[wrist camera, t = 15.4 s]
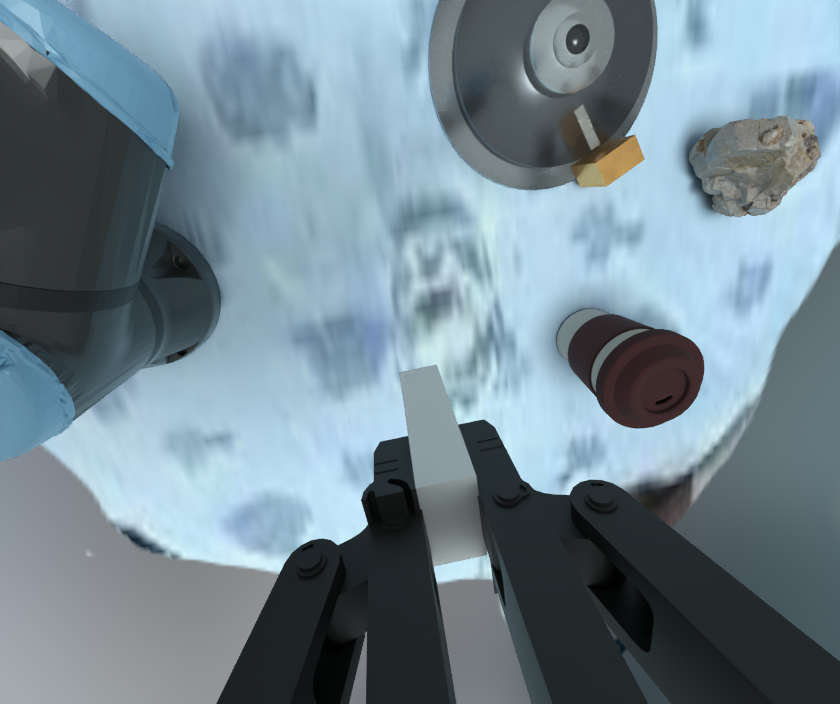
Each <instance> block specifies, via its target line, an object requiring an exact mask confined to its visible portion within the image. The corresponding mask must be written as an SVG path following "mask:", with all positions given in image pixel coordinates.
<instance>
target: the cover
mask: <svg viewBox="0 0 840 704" xmlns="http://www.w3.org/2000/svg"><path fill="white" fill-rule="evenodd" d="M614 34H615V31H614V23H613V18H612V15H611V12H610V10H609V8H608V6H607V4H606V3H605V1H604V0H552V1H551V2H550V3H549V4H548V5H547V6H546V7H545V8H544V9H543V10H542V11H541V12H540V14H539V15H538V16H537V17H536V18H535V19H534V21H533V22H532V24H531V26H530V28H529V30H528V32H527V35H526V38H525V42H524V47H523V64H524V69H525V73H526V75H527V78H528V80H529V82H530V83H531V85H532V86H533V87H534V88H535V89H536V90H537V91H538V92H539V93H541V94H542V95H544V96H547V97H550V98H564V97H567V96H570V95H572V94H574V93H576V92H578V91H580V90H582V89H584V88H586V87H587V86H589V85H590V84H592V83H593V82H594V81H595V80H596V79H597V78H598V77H599V76H600V75H601V73H602V72H603V71H604V69H605V67H606V66H607V64H608V62H609V59H610V57H611V54H612V50H613V46H614Z"/></svg>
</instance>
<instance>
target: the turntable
mask: <svg viewBox="0 0 840 704" xmlns="http://www.w3.org/2000/svg"><path fill="white" fill-rule="evenodd" d="M551 1H552V0H466V1H465V3H464V5H463V7H462V10H461V13H460V16H459V19H458V22H457V26H456V31H455V35H454V41H453V50H452V75H453V85H454V90H455V94H456V99H457V102H458V105H459V108H460V111H461V113H462V115H463V118H464V120H465V122H466V124H467V126H468V127H469V129H470V130H471V132H472V133H473V135H474V136H475V137H476V139H477V140H478V141H479V142H480V143H481V145H482V146H484V147H485V148H486V149H487V150H488V151H489V152H490V153H492V154H493V155H495V156H496V157H498V158H499V159H501V160H503V161H505V162H507V163H509V164H512V165H516V166H519V167H524V168H531V169H538V168H549V167H555V166H561V165H565V164H569V163H572V162H575V161H577V160H579V159H580V160H579V161H577V162H576V163H575V164H573V165H572V166H571V168H572V171H573V173H574V175H575V177H576V179H577V181H578V183H579V186H580V187H603V186H608V185H609V184H611V183H612V182H613V181H615V180H616V179H618V178H619V177H620V176H622V175H623V174H625V173H626V172H628V171H629V170H630V169H632V168H633V167H635V166H636V165H637V164H639V163H640V162H642V161H643V160H644V156H643V154H642V151H641V149H640V146H639V144H638V141H637V138H636V136H635V135H632V136H628V137H623V138H619V139H614V140H610V141H607V140H608V139H609V138H610V137H611V136H612V135H613V134H614V133H615V132H616V131H617V130H618V129H619V127H620V126H621V125H622V123H623V122H624V121H625V120H626V118H627V116H628V115H629V113H630V112H631V110H632V108H633V107H634V105H635V103H636V101H637V99H638V97H639V95H640V92H641V90H642V87H643V84H644V82H645V79H646V75H647V72H648V68H649V64H650V59H651V53H652V44H653V15H652V8H651V1H650V0H604V1H605V3H606V4H607V6H608V8H609V10H610V12H611V15H612V18H613V23H614V31H615V34H614V46H613V50H612V54H611V57H610V59H609V62H608V64H607V66H606V67H605V69H604V71H603V72H602V73H601V75H600V76H599V77H598V78H597V79H596V80H595V81H594V82H593V83H592V84H590V85H589V86H587V87H586V88H584V89H582V90H580V91H578V92H576V93H574V94H572V95H570V96H567V97H564V98H550V97H547V96H544V95H542V94H541V93H539V92H538V91H537V90H536V89H535V88H534V87H533V86H532V85H531V83H530V82H529V80H528V78H527V75H526V73H525V69H524V64H523V47H524V42H525V38H526V35H527V32H528V30H529V28H530V26H531V24H532V22H533V21H534V19H535V18H536V17H537V16H538V15H539V14H540V12H541V11H542V10H543V9H544V8H545V7H546V6H547V5H548V4H549V3H550V2H551ZM581 158H582V159H581Z"/></svg>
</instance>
